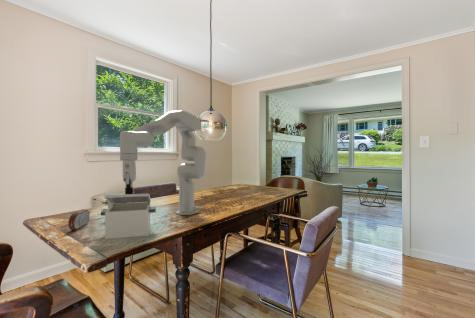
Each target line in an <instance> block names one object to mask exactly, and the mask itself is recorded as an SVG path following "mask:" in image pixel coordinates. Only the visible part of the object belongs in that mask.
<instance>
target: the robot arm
mask: <svg viewBox="0 0 475 318" xmlns="http://www.w3.org/2000/svg"><path fill="white" fill-rule="evenodd" d="M174 127H175V128H176V130H177V131H178V133H179V134H180V136H181V151H180V157H181V159H182V160H183V161H186V163H184V162H183V163H181V164H179V165H178V166H177V171H176V172H177V178H178V179H177V180H178V209H177V210H176V212H175V213H176V214H177V215H179V216H191V215H195V214H196V213H197V210H200V211H201V210H203V209H202V206H199V205H197V206H196V205H195V183H194V181H193V180H200V179H203V177H204V175H205V171H206V170H205V169H206V157H207V156H206V150H205V148H204V147H202V146H199V145H197V146H196V143H197V141H196V136H195V134H194V132H198V131H199V130H200V129H201V127H202V122H201V120H200V119H199V117H197V116H196V115H194V114H192V113H191V112H188V111H186V110H183V109H182V110H181V109H180V110H171V111H168V112H166V113H165V114H163V115H161V116H160V117H158V118H156V119H154V120H152V121H150V122H148V123H145V124H143V125H142V124H141V125H140V126H138V127H136V128H134V129H133V130H124V131H120V132H119V161H122V182H123V183H124V185H125V188H124V192H125V193H124V194H134V187H133V182H135V181H136V180H137V168H136V167H137V166H136V161H138V148H139V147H140V148H147V147H151V146H152V145H153V144H154V142H155V138H154V137H158V136H162V135H165V134H166V133H167V132H169V131H170V130H172V129H173V128H174ZM187 162H189V163H187ZM190 162H191V163H190ZM192 162H194V163H192Z"/></svg>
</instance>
